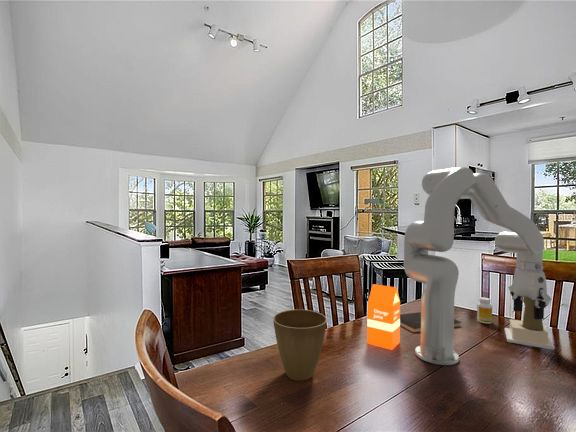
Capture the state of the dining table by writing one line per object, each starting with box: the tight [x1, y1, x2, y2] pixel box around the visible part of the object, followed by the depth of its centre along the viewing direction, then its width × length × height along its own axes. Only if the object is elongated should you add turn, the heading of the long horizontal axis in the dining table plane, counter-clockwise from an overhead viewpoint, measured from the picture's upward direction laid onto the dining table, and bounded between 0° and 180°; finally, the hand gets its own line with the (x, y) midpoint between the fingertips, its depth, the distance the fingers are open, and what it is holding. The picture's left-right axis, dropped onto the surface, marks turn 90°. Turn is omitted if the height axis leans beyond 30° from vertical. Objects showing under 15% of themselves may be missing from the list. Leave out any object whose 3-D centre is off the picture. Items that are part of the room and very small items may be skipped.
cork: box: [522, 297, 544, 330], centre depth 116 cm, size 6×6×11 cm
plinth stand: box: [504, 319, 555, 351], centre depth 118 cm, size 13×13×5 cm
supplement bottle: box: [476, 296, 493, 325], centre depth 136 cm, size 5×5×10 cm
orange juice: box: [366, 283, 401, 351], centre depth 113 cm, size 8×9×20 cm
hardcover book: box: [400, 311, 462, 333], centre depth 135 cm, size 16×23×2 cm
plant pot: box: [272, 309, 328, 382], centre depth 91 cm, size 15×15×16 cm
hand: (527, 314), depth 118 cm, fingers open, 8 cm apart
